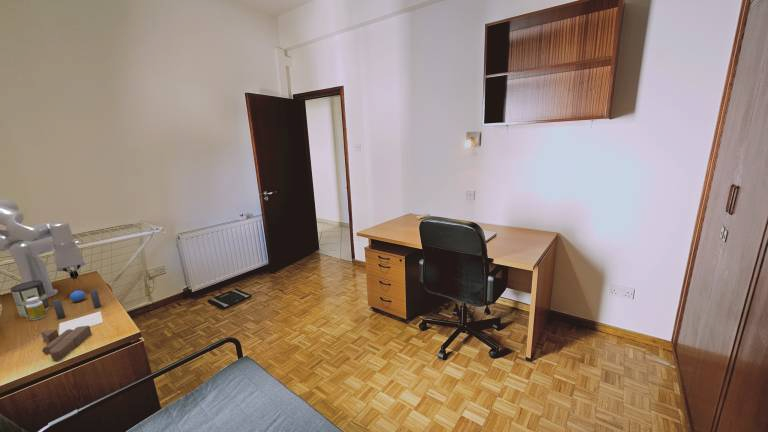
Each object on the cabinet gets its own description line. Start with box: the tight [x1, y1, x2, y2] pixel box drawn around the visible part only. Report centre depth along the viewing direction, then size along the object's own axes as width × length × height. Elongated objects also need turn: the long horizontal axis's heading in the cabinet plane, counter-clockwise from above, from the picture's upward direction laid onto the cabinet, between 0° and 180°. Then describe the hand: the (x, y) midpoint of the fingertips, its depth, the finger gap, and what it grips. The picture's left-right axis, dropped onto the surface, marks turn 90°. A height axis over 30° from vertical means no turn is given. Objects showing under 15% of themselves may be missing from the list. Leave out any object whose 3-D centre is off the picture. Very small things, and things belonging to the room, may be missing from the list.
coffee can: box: [9, 280, 51, 317], centre depth 149 cm, size 10×10×14 cm
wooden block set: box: [40, 326, 92, 362], centre depth 121 cm, size 17×6×18 cm
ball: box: [69, 290, 86, 303], centre depth 159 cm, size 6×6×6 cm
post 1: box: [51, 298, 66, 320], centre depth 143 cm, size 3×3×9 cm
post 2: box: [89, 289, 102, 309], centre depth 152 cm, size 3×3×9 cm
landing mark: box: [58, 310, 104, 335], centre depth 139 cm, size 14×14×1 cm
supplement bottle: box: [26, 297, 47, 321], centre depth 143 cm, size 5×5×10 cm
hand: (75, 278), depth 163 cm, fingers closed
